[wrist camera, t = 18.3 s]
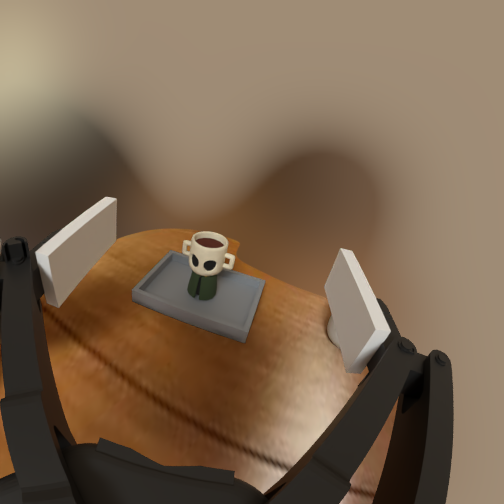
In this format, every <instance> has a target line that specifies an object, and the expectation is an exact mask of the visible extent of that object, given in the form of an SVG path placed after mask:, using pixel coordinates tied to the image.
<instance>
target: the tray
mask: <svg viewBox="0 0 504 504" xmlns="http://www.w3.org/2000/svg"><path fill="white" fill-rule="evenodd" d="M191 273H192V269H191V267H190V265H189V256H186V255H184V254H181V253H178V252H175V251H172V250H170V251H169V252H168V253H167V254H166V255H165V256H164V257H163V258H162V259H161V260H160V261H159V262H158V263H157V264H156V265H155V266H154V267H153V268H152V269H151V270H150V271H149V272H148V273H147V275H146V276H145V277H144V278H143V279H142V280H141V281H140V282H139V283H138V284H137V285H136V286H135V287H134V288H133V289H132V301H133V302H135V303H138V304H140V305H142V306H145V307H147V308H150V309H152V310H154V311H157V312H159V313H162V314H164V315H167V316H169V317H172V318H175V319H177V320H180V321H182V322H185V323H188V324H190V325H193V326H196V327H199V328H201V329H204V330H207V331H210V332H213V333H216V334H218V335H221V336H224V337H227V338H230V339H233V340H236V341H239V342H242V343H245V341H246V338H247V335H248V332H249V329H250V326H251V323H252V320H253V317H254V314H255V311H256V308H257V305H258V302H259V299H260V296H261V293H262V290H263V287H264V284H265V280H262V279H259V278H255V277H252V276H249V275H246V274H243V273H240V272H236V271H233V270H228V269H225V268H223V270H222V271H221V272H220V273H218V274H217V291H216V295H215V296H214V297H213V298H212V299H209V300H199V295H197V294H195V298H193V297H192V296H191V295H189V293H188V291H187V288H188V284H189V280H190V277H191Z"/></svg>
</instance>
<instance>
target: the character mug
mask: <svg viewBox="0 0 504 504" xmlns="http://www.w3.org/2000/svg"><path fill="white" fill-rule="evenodd" d="M187 245H188V246H191V248H190V251H187ZM227 248H228V240H227V238H225V237H224V236H223V235H220V234H218V233H215V232H211V231H201V232H197V233H195V234H194V235H193V237H192V240H191V241H188V240H184V241H183V248H182V254H184V255H186V256H189V265H190V267H191V269H192V273H191V277H190V280H189V284H188V288H187V291H188V293H189V295H191V296H192V297H193V298H195V294H197V295H199V300H209V299H212V298H213V297H214V296H215V295H216V291H217V274H218V273H220V272H221V271H222V270H223V268H225V269H228V270H232V269H233V266H234V262H235V256H234V255H232V254H229V253H226V252H227ZM225 258H228V259H230V261H229V264H226V263H224V262H225Z"/></svg>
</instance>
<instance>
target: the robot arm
mask: <svg viewBox="0 0 504 504" xmlns="http://www.w3.org/2000/svg"><path fill="white" fill-rule="evenodd" d="M116 207H117V199H115V198H110V197H105V198H104V199H102V200H101V201H100V202H98V203H97V204H95V205H94V206H92V207H91V208H90V209H89V210H87V211H85V212H84V213H83V214H81V215H80V216H79V217H78V218H76V219H75V220H74V221H72V222H71V223H70V224H69V225H67V226H66V227H65V228H64V229H59V230H57V231H55V232H52V233H51V234H50V235H49V236H47V238H45V239H44V240H43V241H42V242H40V243H39V244H38V245H37V246H35V247H34V248H33V249H32V250H31V251H30V252H29V248H28V243H27V239H26V238H24V237H21V236H19V237H13V238H10V239H8V240H6V242H4V243H3V245H2V243H1V239H0V344H1V353H2V368H3V379H4V388H5V398H3V399H1V401H0V408H1V415H2V420H3V426H4V431H5V435H6V440H7V444H8V448H9V452H10V456H11V460H12V463H13V466H14V470H15V473H12V474H10V475H8V476H5V477H3V478H1V479H0V504H339V503H340V502H341V500H342V499H343V498H344V496H345V495H346V494H347V492H348V491H349V489H350V486H351V483H350V482H349V481H350V479H351V477H352V476H353V474H354V473H355V471H356V470H357V468H358V467H359V465H360V464H361V462H362V461H363V459H364V458H365V456H366V454H367V453H368V451H369V450H370V448H371V446H372V445H373V443H374V441H375V440H376V438H377V436H378V434H379V433H380V431H381V429H382V427H383V426H384V424H385V422H386V420H387V418H388V416H389V414H390V412H391V410H392V408H393V406H394V404H395V402H396V400H397V398H398V396H399V398H398V404H397V410H396V416H395V421H394V426H393V431H392V435H391V440H390V444H389V448H388V453H387V456H386V460H385V464H384V468H383V471H382V475H381V478H380V481H379V485H378V488H377V491H376V494H375V497H374V500H373V503H372V504H445V503H446V497H447V491H448V485H449V478H450V469H451V459H452V445H453V383H452V368H451V362H450V360H449V358H448V356H447V355H446V354H445V353H443V352H441V351H439V350H433V351H432V352H431V353H430V354H429V355H428V356H425V355H422V354H419V353H417V350H416V347H415V346H414V345H413V343H412V342H411V341H409V340H408V339H406V338H404V337H401V336H400V333H399V331H398V329H397V327H396V325H395V322H394V320H392V319H393V318H392V316H391V315H390V312H389V310H388V308H387V306H386V305H385V304H384V303H383V302H382V300H381V299H377V298H375V296H374V293H373V291H372V289H371V287H370V285H369V283H368V281H367V279H366V277H365V275H364V273H363V271H362V269H361V267H360V265H359V263H358V261H357V259H356V258H355V256H354V254H353V252H352V251H349V250H346V249H342V248H340V251H339V253H338V256H337V258H336V261H335V263H334V265H333V267H332V270H331V272H330V274H329V277H328V279H327V281H326V284H325V286H324V287H325V291H326V295H327V299H328V302H329V306H330V310H331V313H332V317H333V321H334V325H335V329H336V333H337V337H338V341H339V345H340V349H341V353H342V357H343V361H344V366H345V370H346V373H359V374H361V372H362V371H363V370H364V368H365V367H366V366H367V367H368V370H369V373H368V374H367V375H366V376H365V378H364V379H363V380H362V381H361V382H360V384H359V385H358V388H357V389H356V391H355V392H354V394H353V395H352V396H351V398H350V399H349V400H348V402H347V403H346V405H345V406H344V407H343V408H342V410H341V411H340V412H339V414H338V415H337V416H336V418H335V419H334V420H333V421H332V423H331V424H330V425H329V426H328V428H327V429H326V430H325V431H324V432H323V434H322V435H321V436H320V437H319V438H318V440H317V441H316V442H315V443H314V444H313V445H312V446H311V448H310V449H309V450H308V451H307V452H306V453H305V454H304V455H303V457H302V458H301V459H300V460H299V461H298V462H297V463H296V464H295V465H294V466H293V467H292V468H291V469H290V470H289V471H288V472H287V473H286V474H285V475H284V476H283V477H282V478H281V479H280V480H279V481H278V482H277V483H276V484H274V485H273V486H272V487H271V488H270V489H269V490H267V491H266V492H265V493H264V494H262V493H261V492H260V491H259V490H257V489H256V488H255V487H253V486H251V485H250V484H248V483H246V482H244V481H242V480H240V479H237V478H234V472H235V471H230V470H222V469H216V468H209V467H204V466H163V465H160V464H158V463H156V462H154V461H152V460H151V459H149V458H147V457H145V456H143V455H141V454H140V453H138V452H136V451H134V450H133V449H131V448H128V447H125V446H122V445H119V444H116V443H113V442H111V441H108V440H105V439H103V438H100V439H99V442H98V444H95V443H84V444H76V441H75V439H74V437H73V436H72V434H71V432H70V429H69V427H68V424H67V421H66V418H65V415H64V412H63V409H62V406H61V402H60V399H59V395H58V392H57V388H56V384H55V380H54V376H53V371H52V367H51V362H50V357H49V352H48V347H47V341H46V335H45V329H44V321H43V313H42V304H41V301H40V298H41V296H42V295H43V294H45V298H46V302H47V303H48V304H50V305H53V306H55V307H58V308H59V307H60V306H61V305H62V303H63V302H64V301H65V300H66V298H67V297H68V296H69V295H70V293H71V292H72V291H73V290H74V288H75V287H76V286H77V285H78V284H79V282H80V281H81V280H82V279H83V278H84V276H85V275H86V274H87V273H88V272H89V271H90V269H91V268H92V267H93V266H94V265H95V264H96V262H97V261H98V260H99V259H100V258H101V257H102V256H103V255H104V253H105V252H106V251H107V250H108V249H109V248H110V247H111V246H112V245H113V244H114V243H115V241H116V211H117V210H116V209H117V208H116Z"/></svg>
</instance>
